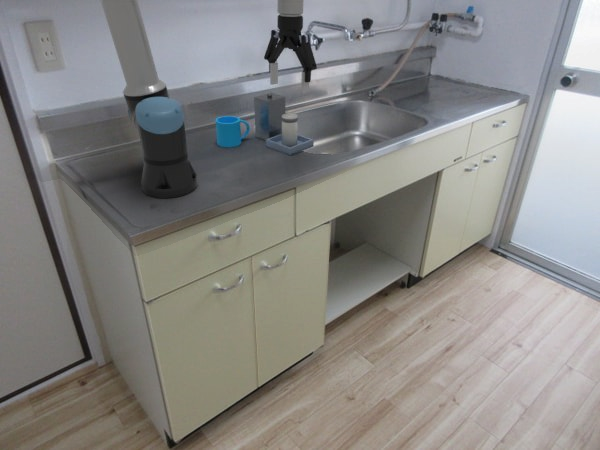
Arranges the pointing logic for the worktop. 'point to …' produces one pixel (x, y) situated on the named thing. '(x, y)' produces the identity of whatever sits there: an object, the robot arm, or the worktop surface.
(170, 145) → the robot arm
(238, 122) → the mug
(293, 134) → the cylinder
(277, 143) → the tray
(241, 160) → the worktop surface
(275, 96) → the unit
